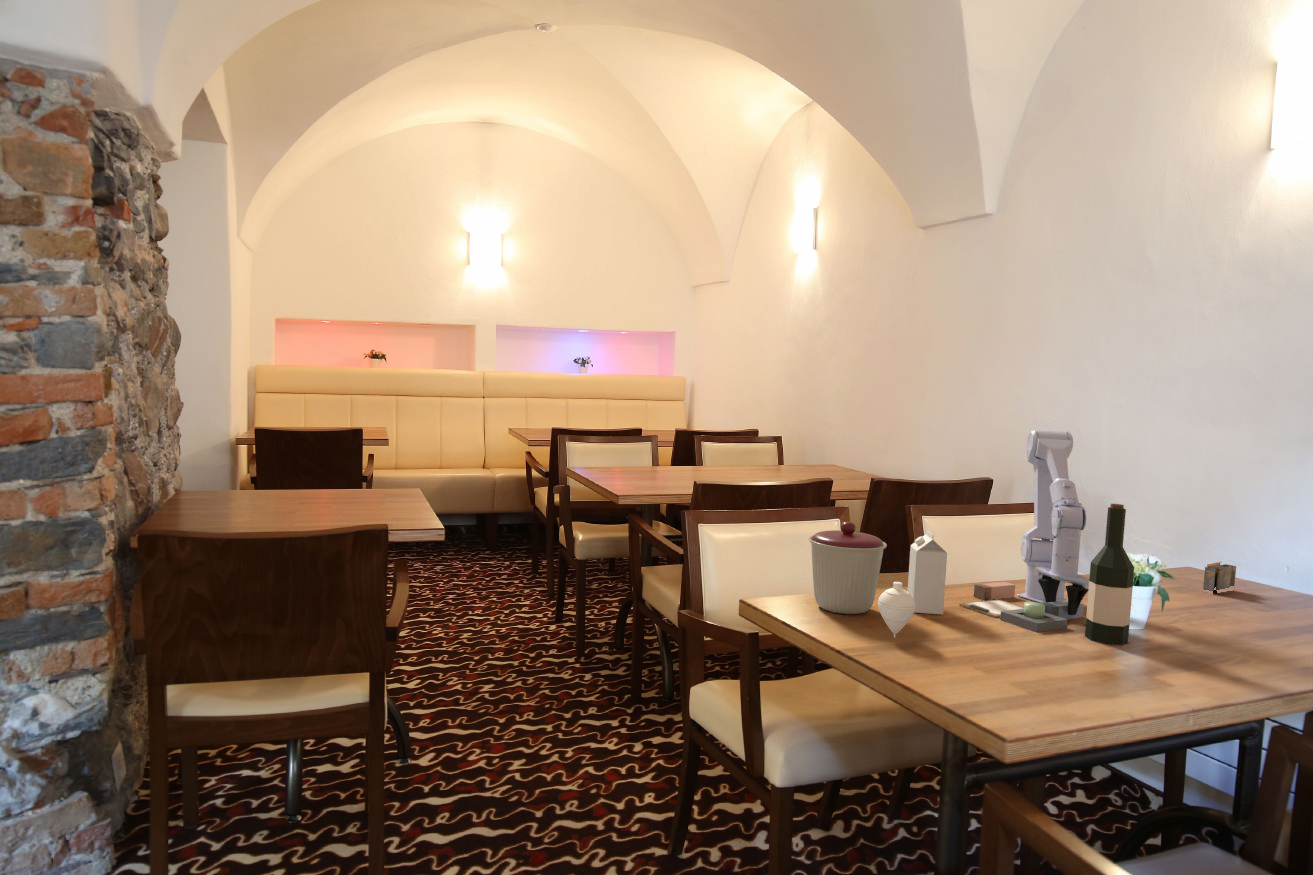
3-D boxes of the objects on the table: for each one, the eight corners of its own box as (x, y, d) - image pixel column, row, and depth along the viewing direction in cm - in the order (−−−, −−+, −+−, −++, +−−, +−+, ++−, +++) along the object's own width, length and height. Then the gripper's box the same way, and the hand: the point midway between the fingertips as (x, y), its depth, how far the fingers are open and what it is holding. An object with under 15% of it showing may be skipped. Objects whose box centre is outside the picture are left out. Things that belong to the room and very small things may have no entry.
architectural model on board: (1214, 596, 227) (1217, 562, 226) (1202, 593, 229) (1205, 559, 229) (1235, 592, 232) (1238, 559, 231) (1224, 590, 235) (1227, 557, 234)
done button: (1032, 613, 192) (1033, 601, 192) (1048, 618, 188) (1049, 605, 188) (1019, 615, 190) (1020, 602, 190) (1035, 620, 186) (1036, 607, 186)
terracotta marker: (1003, 594, 217) (1004, 581, 216) (1014, 597, 214) (1015, 584, 213) (973, 597, 212) (974, 584, 212) (984, 600, 209) (984, 587, 209)
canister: (826, 594, 208) (831, 513, 206) (894, 609, 196) (900, 523, 195) (791, 607, 194) (795, 520, 192) (861, 624, 182) (867, 531, 181)
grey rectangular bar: (1069, 613, 200) (1070, 599, 200) (1082, 617, 197) (1083, 603, 197) (1038, 617, 195) (1039, 603, 195) (1051, 621, 192) (1052, 607, 192)
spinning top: (915, 645, 169) (918, 588, 168) (877, 641, 170) (880, 584, 170) (911, 634, 176) (914, 579, 176) (874, 630, 178) (878, 576, 177)
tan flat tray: (999, 601, 209) (999, 597, 209) (1036, 612, 199) (1036, 608, 199) (959, 605, 203) (959, 601, 203) (995, 617, 193) (995, 613, 193)
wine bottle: (1084, 640, 177) (1095, 504, 175) (1084, 631, 185) (1095, 500, 183) (1128, 648, 174) (1140, 508, 172) (1127, 638, 181) (1138, 504, 179)
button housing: (1029, 615, 196) (1030, 607, 196) (1066, 627, 187) (1067, 619, 187) (1000, 619, 191) (1000, 611, 191) (1036, 631, 182) (1037, 623, 182)
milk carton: (936, 607, 200) (941, 530, 199) (943, 615, 193) (948, 536, 192) (906, 605, 201) (911, 529, 200) (912, 613, 194) (917, 534, 192)
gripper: (1028, 550, 200) (1024, 604, 201) (1081, 562, 187) (1077, 621, 188) (1048, 548, 203) (1043, 602, 204) (1101, 561, 190) (1097, 618, 191)
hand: (1061, 611), depth 196 cm, fingers open, 5 cm apart
